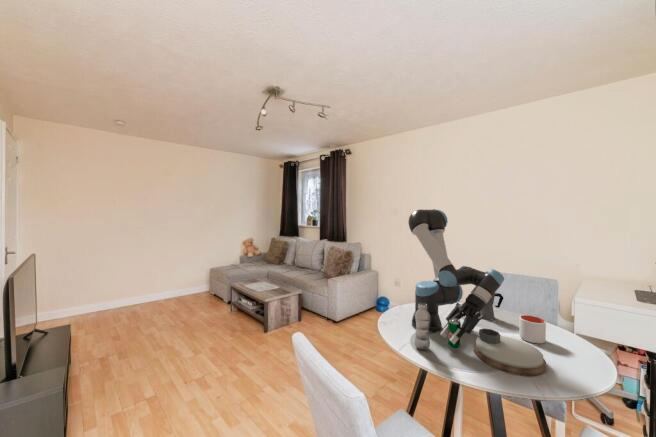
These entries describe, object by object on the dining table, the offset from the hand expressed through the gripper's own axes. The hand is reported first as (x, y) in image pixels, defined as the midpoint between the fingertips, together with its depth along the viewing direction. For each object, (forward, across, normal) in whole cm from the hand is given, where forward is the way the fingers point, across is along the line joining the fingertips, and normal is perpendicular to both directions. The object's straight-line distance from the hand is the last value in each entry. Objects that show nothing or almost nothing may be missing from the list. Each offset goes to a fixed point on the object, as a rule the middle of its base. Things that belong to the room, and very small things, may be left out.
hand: (447, 339), depth 115 cm
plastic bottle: (+10, +5, +2) cm, 12 cm away
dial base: (-11, -11, -19) cm, 25 cm away
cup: (-29, -2, -38) cm, 48 cm away
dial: (-13, -11, -17) cm, 24 cm away
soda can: (0, 0, -6) cm, 6 cm away
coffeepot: (-31, +24, -40) cm, 56 cm away
